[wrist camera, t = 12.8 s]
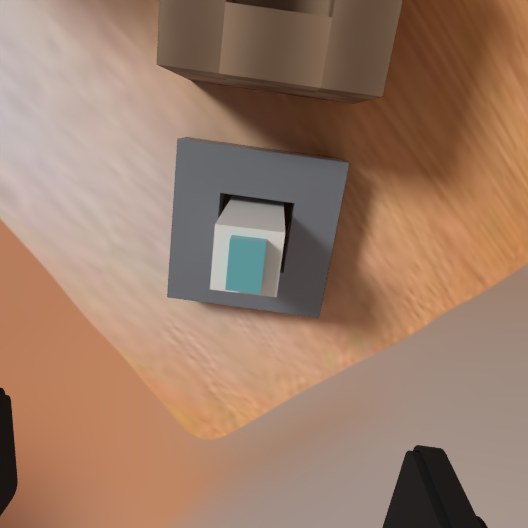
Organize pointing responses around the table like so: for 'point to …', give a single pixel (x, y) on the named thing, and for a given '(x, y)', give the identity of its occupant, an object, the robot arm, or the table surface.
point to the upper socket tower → (282, 45)
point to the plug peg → (248, 246)
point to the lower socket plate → (258, 186)
